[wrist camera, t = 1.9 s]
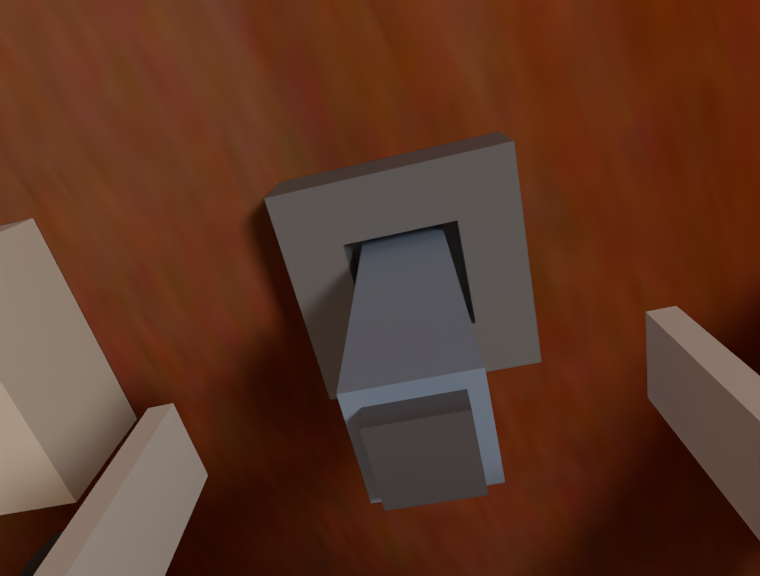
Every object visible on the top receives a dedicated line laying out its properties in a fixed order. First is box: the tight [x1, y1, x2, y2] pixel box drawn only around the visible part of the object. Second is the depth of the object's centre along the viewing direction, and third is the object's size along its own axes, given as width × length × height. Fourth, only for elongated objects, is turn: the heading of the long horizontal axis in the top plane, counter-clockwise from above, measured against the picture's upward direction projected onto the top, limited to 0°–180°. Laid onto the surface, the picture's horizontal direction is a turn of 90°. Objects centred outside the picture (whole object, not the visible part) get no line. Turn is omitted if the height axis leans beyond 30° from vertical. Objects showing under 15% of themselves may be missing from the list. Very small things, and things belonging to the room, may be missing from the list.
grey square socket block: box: [264, 132, 541, 400], centre depth 23 cm, size 10×10×3 cm
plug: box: [336, 224, 505, 511], centre depth 18 cm, size 4×4×13 cm
